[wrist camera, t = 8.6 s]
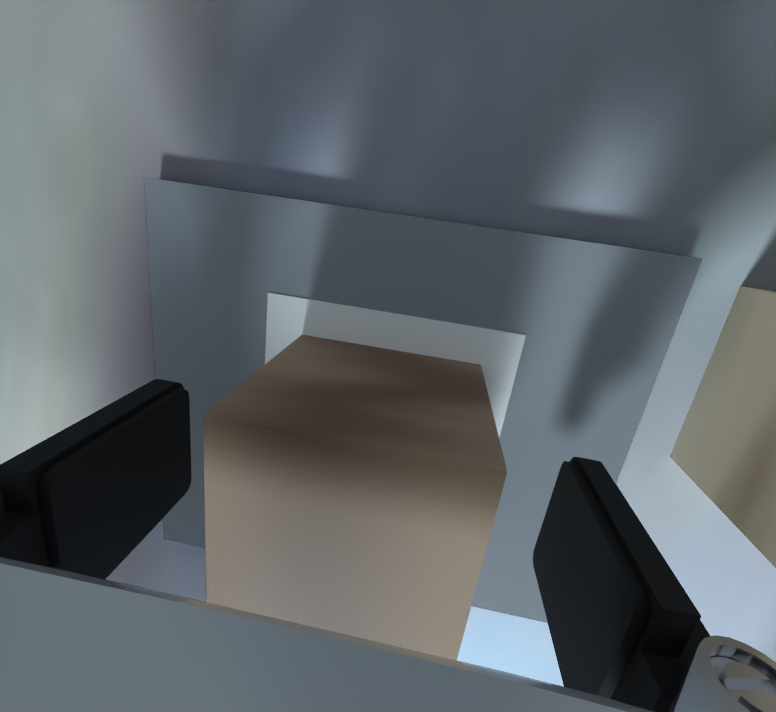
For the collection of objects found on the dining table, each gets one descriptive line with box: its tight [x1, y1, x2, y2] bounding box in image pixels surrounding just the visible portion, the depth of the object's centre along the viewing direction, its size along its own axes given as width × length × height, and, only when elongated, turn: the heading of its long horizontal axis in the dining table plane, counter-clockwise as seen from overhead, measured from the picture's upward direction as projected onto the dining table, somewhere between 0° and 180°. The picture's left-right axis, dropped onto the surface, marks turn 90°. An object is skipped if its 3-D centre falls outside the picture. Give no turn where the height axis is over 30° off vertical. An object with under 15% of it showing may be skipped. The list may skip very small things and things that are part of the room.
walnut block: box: [203, 335, 507, 660], centre depth 10 cm, size 5×5×5 cm
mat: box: [144, 177, 702, 623], centre depth 12 cm, size 14×12×1 cm
